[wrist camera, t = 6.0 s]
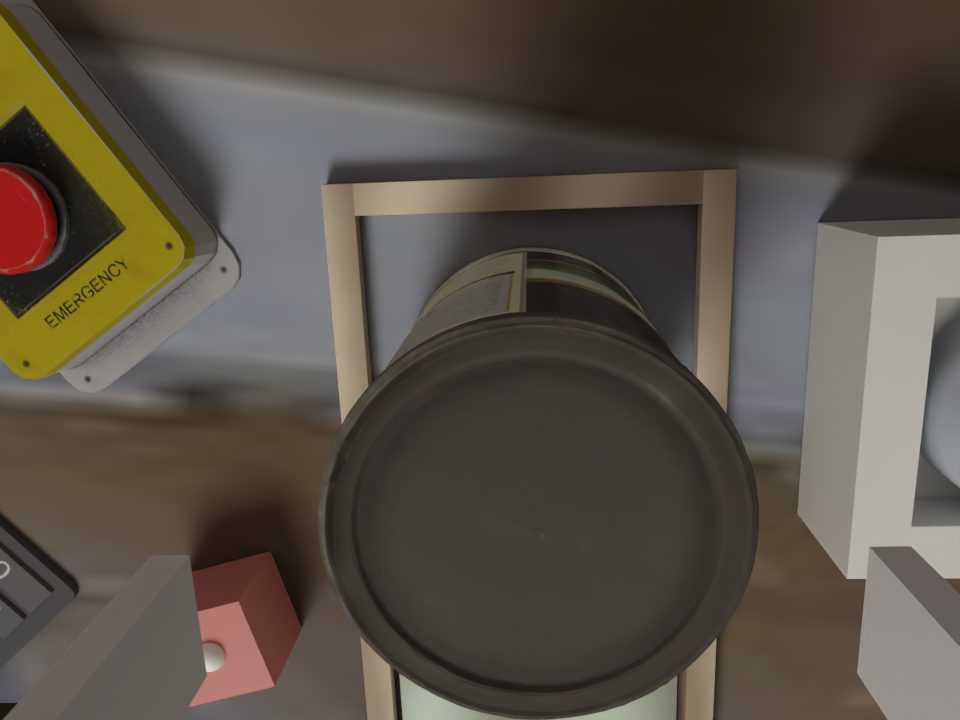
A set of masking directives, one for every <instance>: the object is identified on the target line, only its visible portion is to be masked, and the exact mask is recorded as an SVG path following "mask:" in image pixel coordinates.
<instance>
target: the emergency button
mask: <svg viewBox="0 0 960 720" xmlns="http://www.w3.org/2000/svg"><path fill="white" fill-rule="evenodd" d="M240 278H241V277H240V263H239V261H238V259H237V257H236V255H235V253H234V251H233V250H232V249H231V248H230V246H229V245H228V244H227V243H226V241H225V240H224V239H223V238H222V236H221V235H220V234H219V233H218V231H217V230H216V229H215V228H214V226H213V225H212V224H211V223H210V221H209V220H208V219H207V218H206V216H205V215H204V214H203V213H202V211H201V210H200V209H199V208H198V206H197V205H196V204H195V203H194V201H193V200H192V199H191V198H190V196H189V195H188V194H187V193H186V191H185V190H184V189H183V188H182V186H181V185H180V184H179V183H178V181H177V180H176V179H175V178H174V176H173V175H172V174H171V173H170V171H169V170H168V169H167V168H166V166H165V165H164V164H163V163H162V161H161V160H160V159H159V158H158V156H157V155H156V154H155V153H154V151H153V150H152V149H151V148H150V146H149V145H148V144H147V143H146V141H145V140H144V139H143V138H142V136H141V135H140V134H139V133H138V131H137V130H136V129H135V128H134V126H133V125H132V124H131V123H130V121H129V120H128V119H127V118H126V116H125V115H124V114H123V113H122V111H121V110H120V109H119V108H118V106H117V105H116V104H115V103H114V101H113V100H112V99H111V98H110V96H109V95H108V94H107V93H106V91H105V90H104V89H103V88H102V86H101V85H100V84H99V83H98V81H97V80H96V79H95V78H94V76H93V75H92V74H91V72H90V71H89V70H88V69H87V67H86V66H85V65H84V64H83V62H82V61H81V60H80V59H79V57H78V56H77V55H76V54H75V52H74V51H73V50H72V49H71V47H70V46H69V45H68V44H67V42H66V41H65V40H64V39H63V37H62V36H61V35H60V34H59V32H58V31H57V30H56V29H55V27H54V26H53V25H52V24H51V22H50V21H49V20H48V19H47V17H46V16H45V15H44V14H43V12H42V11H41V10H40V9H39V7H38V6H37V5H36V4H35V2H34V1H33V0H0V358H1V359H2V360H3V361H4V362H5V363H6V364H7V366H8V367H9V368H10V369H11V370H12V371H13V372H14V373H16V374H17V375H19V376H20V377H21V378H24V379H33V380H35V379H40V378H45V377H47V376H50V375H52V374H54V373H58V372H60V373H61V374H62V375H63V376H64V378H65V379H66V380H67V381H68V382H69V383H70V384H71V385H73V386H74V387H75V388H77V389H78V390H79V391H82V392H87V393H91V394H93V393H96V392H99V391H102V390H104V389H105V388H107V387H108V386H109V385H111V384H112V383H113V382H114V381H116V380H117V379H118V378H120V377H121V376H122V375H123V374H125V373H126V372H127V371H129V370H130V369H131V368H132V367H134V366H135V365H136V364H137V363H139V362H140V361H141V360H143V359H144V358H145V357H146V356H148V355H149V354H150V353H152V352H153V351H154V350H155V349H157V348H158V347H159V346H161V345H162V344H163V343H164V342H166V341H167V340H168V339H169V338H171V337H172V336H173V335H175V334H176V333H177V332H178V331H180V330H181V329H182V328H184V327H185V326H186V325H187V324H189V323H190V322H191V321H193V320H194V319H195V318H196V317H198V316H199V315H200V314H201V313H203V312H204V311H205V310H207V309H208V308H209V307H210V306H212V305H213V304H214V303H216V302H217V301H218V300H219V299H221V298H222V297H223V296H225V295H226V294H227V293H228V292H230V291H231V290H232V289H233V288H234V287H235V286H236V284H237V283H238V281H239V280H240Z"/></svg>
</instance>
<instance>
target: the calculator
mask: <svg viewBox="0 0 960 720" xmlns="http://www.w3.org/2000/svg"><path fill="white" fill-rule="evenodd" d="M78 593H79V590H78V587H77V586H76V584H75V583H74V582H72V581H71V580H70V579H69V578H68V577H67V576H66V575H65V574H63V573H62V572H61V571H60V570H59V569H58V568H57V567H55V566H54V565H53V564H52V563H51V562H50V561H49V560H47V559H46V558H45V557H44V556H43V555H42V554H41V553H40V552H38V551H37V550H36V549H35V548H34V547H33V546H32V545H30V544H29V543H28V542H27V541H26V540H25V539H24V538H22V537H21V536H20V535H19V534H18V533H17V532H16V531H15V530H13V529H12V528H11V527H10V526H9V525H8V524H7V523H5V522H4V521H3V520H2V519H1V518H0V668H1V667H3V666H4V665H5V664H6V663H7V662H8V661H9V660H10V659H11V658H12V657H13V656H14V655H15V654H16V653H17V652H18V651H19V650H20V649H21V648H22V647H24V646H25V645H26V644H27V643H28V642H29V641H30V640H31V639H32V638H33V637H34V636H35V635H36V634H37V633H38V632H39V631H40V630H41V629H42V628H43V627H45V626H46V625H47V624H48V623H49V622H50V621H51V620H52V619H53V618H54V617H55V616H56V615H57V614H58V613H59V612H60V611H61V610H62V609H63V608H64V607H65V606H67V605H68V604H69V603H70V602H71V601H72V600H73V599H74V598H75V597H76V596H77V594H78Z"/></svg>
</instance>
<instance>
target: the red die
mask: <svg viewBox="0 0 960 720" xmlns="http://www.w3.org/2000/svg"><path fill="white" fill-rule="evenodd" d="M192 576H193V583H194V590H195V597H196V604H197V611H198V618H199V625H200V632H201V638H202V645H203V652H204V659H205V666H206V673H207V677H206V678H205V680H204V682H203V683H202V685H201V687H200V689H199V690H198V692H197V694H196V695H195V697H194V699H193V700H192V702H191V704H190V705H189V707H191V706H195V705H199V704H203V703H207V702H212V701H216V700H220V699H224V698H228V697H233V696H237V695H241V694H245V693H249V692H254V691H258V690H262V689H266V688H270V687H275V685H276V683H277V681H278V678H279V676H280V674H281V672H282V670H283V668H284V666H285V663H286V661H287V659H288V657H289V655H290V653H291V651H292V648H293V646H294V644H295V642H296V640H297V638H298V636H299V633H300V631H301V629H302V627H301V625H300V622H299V620H298V617H297V615H296V612H295V610H294V608H293V605H292V603H291V600H290V598H289V595H288V593H287V590H286V588H285V586H284V583H283V581H282V578H281V576H280V573H279V571H278V568H277V566H276V564H275V561H274V559H273V556H272V554H271V551H269V552H265V553H261V554H257V555H254V556H250V557H246V558H242V559H238V560H235V561H231V562H227V563H223V564H219V565H215V566H212V567H208V568H204V569H200V570H196V571H193V572H192Z"/></svg>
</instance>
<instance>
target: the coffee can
mask: <svg viewBox="0 0 960 720" xmlns="http://www.w3.org/2000/svg"><path fill="white" fill-rule="evenodd" d="M758 529H759V505H758V499H757V488H756V481H755V477H754V474H753V470H752V467H751V463H750V461H749V458H748V455H747V453H746V450H745V447H744V445H743V443H742V440H741V438H740V435H739V434H738V432H737V430H736V428H735V427H734V425H733V423H732V421H731V420H730V418H729V417H728V415H727V414H726V412H725V411H724V409H723V408H722V407H721V405H720V404H719V403H718V401H717V400H716V399H715V397H714V396H713V395H712V394H711V392H710V391H709V390H708V389H707V388H706V387H705V386H704V384H703V383H702V382H701V381H700V380H699V379H698V378H697V377H696V376H695V375H694V374H692V373H691V372H690V371H689V370H688V369H687V368H686V367H685V366H684V365H683V364H682V363H681V361H680V360H679V358H678V357H677V356H676V355H675V354H674V352H673V351H672V350H671V349H670V348H669V346H668V345H667V344H666V342H665V341H664V340H663V338H662V337H661V336H660V334H659V333H658V332H657V330H656V329H655V328H654V326H653V325H652V323H651V322H650V321H649V319H648V318H647V317H646V314H645V312H644V311H643V309H642V307H641V306H640V304H639V303H638V301H637V300H636V299H635V297H634V296H633V295H632V293H631V292H630V291H629V290H628V289H627V288H626V287H625V285H624V284H623V283H622V282H621V281H620V280H618V279H617V278H616V277H615V276H613V275H612V274H611V273H610V272H608V271H607V270H605V269H604V268H602V267H601V266H599V265H597V264H595V263H594V262H592V261H590V260H588V259H586V258H583V257H580V256H578V255H575V254H572V253H569V252H565V251H561V250H555V249H548V248H526V247H524V248H515V249H509V250H505V251H501V252H497V253H494V254H491V255H488V256H485V257H483V258H481V259H479V260H477V261H475V262H473V263H471V264H469V265H467V266H465V267H464V268H462V269H461V270H459V271H458V272H457V273H455V274H454V275H453V276H451V277H450V278H449V279H448V280H447V281H445V282H444V283H443V284H442V285H441V286H440V287H439V288H438V289H437V290H436V291H435V292H434V294H433V295H432V296H431V298H430V299H429V300H428V302H427V303H426V305H425V307H424V308H423V310H422V312H421V314H420V316H419V318H418V320H417V322H416V324H415V325H414V327H413V328H412V330H411V332H410V333H409V334H408V336H407V337H406V339H405V340H404V342H403V343H402V345H401V346H400V348H399V349H398V351H397V352H396V354H395V355H394V357H393V358H392V360H391V361H390V363H389V364H388V366H387V367H386V369H385V370H384V371H383V372H382V373H381V374H380V375H379V376H378V377H377V378H376V379H375V380H374V381H373V382H372V383H371V385H370V386H369V387H368V388H367V389H366V390H365V391H364V393H363V394H362V395H361V396H360V398H359V399H358V400H357V402H356V403H355V404H354V406H353V407H352V408H351V410H350V411H349V413H348V414H347V416H346V418H345V420H344V422H343V423H342V425H341V427H340V429H339V431H338V433H337V435H336V437H335V439H334V441H333V443H332V445H331V448H330V450H329V453H328V456H327V459H326V462H325V465H324V469H323V474H322V479H321V484H320V490H319V497H318V534H319V544H320V550H321V555H322V559H323V563H324V567H325V570H326V574H327V577H328V579H329V582H330V584H331V587H332V589H333V592H334V594H335V596H336V598H337V601H338V602H339V604H340V606H341V608H342V609H343V611H344V613H345V615H346V616H347V618H348V619H349V621H350V623H351V624H352V626H353V627H354V628H355V630H356V631H357V632H358V634H359V635H360V636H361V638H362V639H363V640H364V641H365V642H366V643H367V644H368V645H369V646H370V647H371V648H372V649H373V650H374V651H375V652H376V653H377V654H378V655H379V656H380V657H381V658H382V659H383V660H384V661H385V662H386V663H387V664H389V665H390V666H391V667H392V668H394V669H395V670H396V671H397V672H398V673H399V674H401V675H402V676H404V677H405V678H407V679H408V680H410V681H411V682H413V683H414V684H416V685H418V686H419V687H421V688H423V689H425V690H427V691H429V692H430V693H432V694H434V695H436V696H438V697H440V698H443V699H445V700H447V701H449V702H451V703H454V704H456V705H458V706H461V707H464V708H467V709H471V710H474V711H477V712H481V713H486V714H490V715H495V716H500V717H506V718H513V719H527V720H549V719H561V718H570V717H577V716H584V715H589V714H594V713H598V712H603V711H607V710H610V709H613V708H617V707H620V706H624V705H626V704H628V703H630V702H632V701H635V700H637V699H640V698H642V697H644V696H646V695H648V694H650V693H652V692H654V691H656V690H657V689H658V688H660V687H661V686H663V685H666V684H667V683H668V682H669V681H670V680H672V679H673V678H674V677H676V676H677V675H679V674H680V673H681V672H683V671H684V670H686V669H687V668H688V667H689V666H690V665H691V664H692V663H693V662H695V661H696V660H697V659H698V658H699V657H700V656H701V655H702V654H703V653H704V651H705V650H706V649H707V648H708V647H709V646H710V645H711V644H712V643H713V642H714V640H715V639H716V638H717V637H718V635H719V634H720V633H721V632H722V631H723V629H724V628H725V626H726V625H727V623H728V622H729V621H730V619H731V618H732V616H733V614H734V613H735V611H736V609H737V608H738V606H739V604H740V602H741V599H742V597H743V595H744V592H745V590H746V588H747V585H748V582H749V579H750V576H751V573H752V570H753V566H754V562H755V554H756V550H757V541H758Z"/></svg>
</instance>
